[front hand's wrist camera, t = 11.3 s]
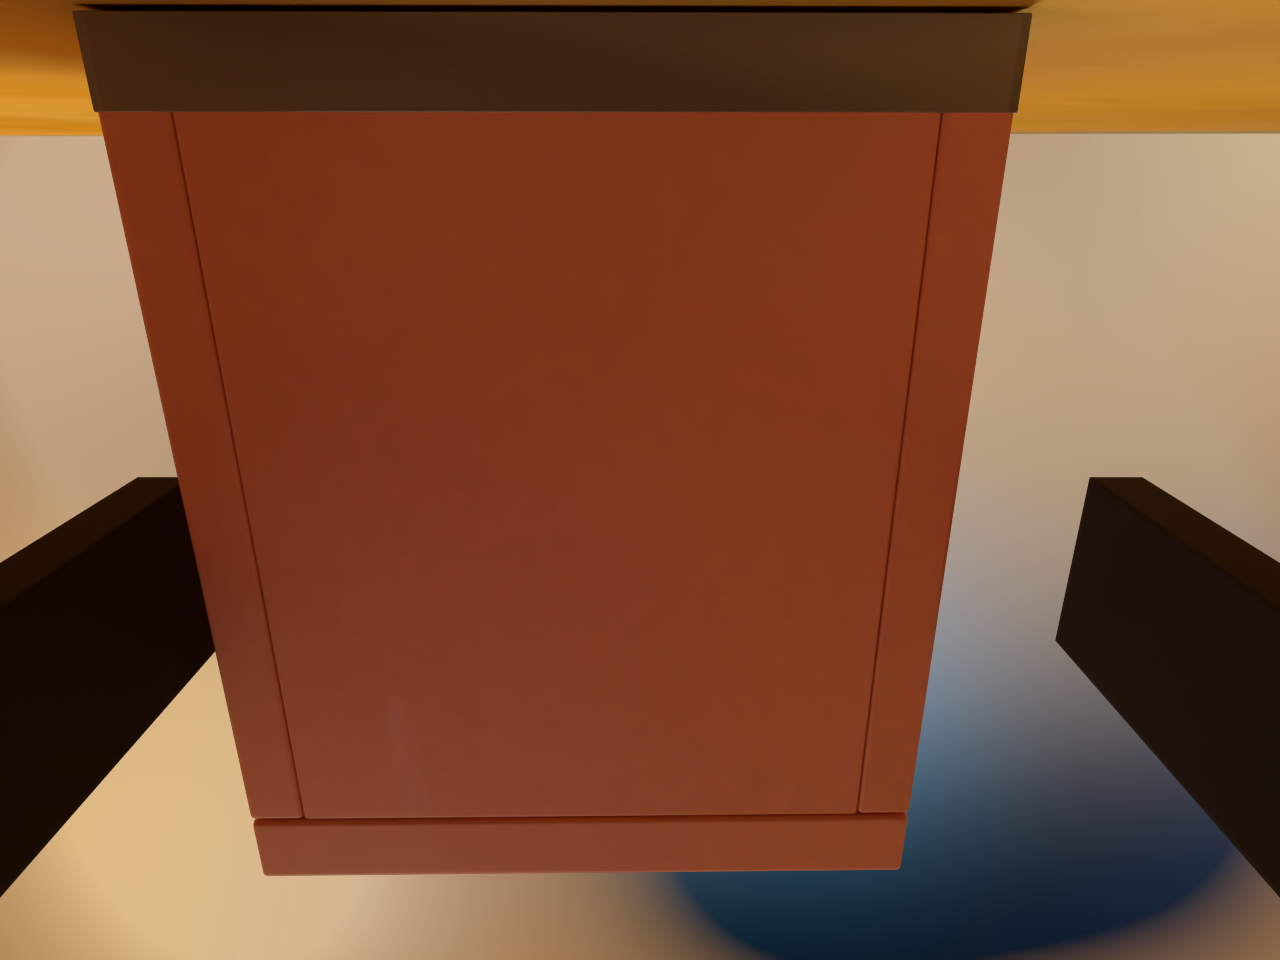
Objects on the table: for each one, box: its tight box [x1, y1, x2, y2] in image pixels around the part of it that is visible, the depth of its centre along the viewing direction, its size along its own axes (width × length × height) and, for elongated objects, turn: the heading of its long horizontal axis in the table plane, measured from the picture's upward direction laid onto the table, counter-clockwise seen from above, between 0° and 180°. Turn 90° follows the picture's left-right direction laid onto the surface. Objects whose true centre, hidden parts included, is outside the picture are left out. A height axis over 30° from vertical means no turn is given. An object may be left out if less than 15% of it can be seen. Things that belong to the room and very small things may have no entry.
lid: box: [254, 809, 907, 876], centre depth 21 cm, size 15×10×9 cm, turn 179°
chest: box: [72, 11, 1032, 819], centre depth 17 cm, size 14×10×10 cm
